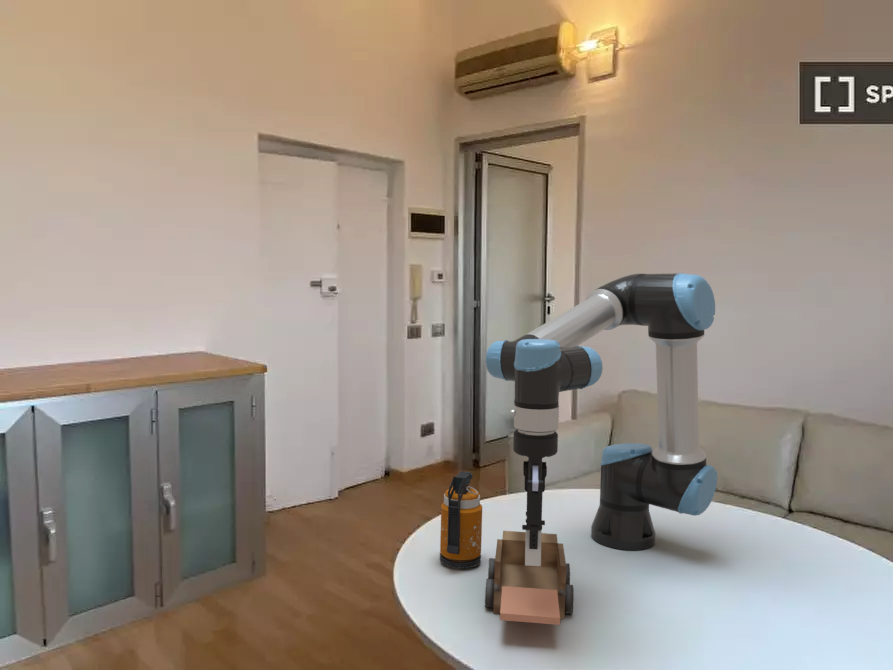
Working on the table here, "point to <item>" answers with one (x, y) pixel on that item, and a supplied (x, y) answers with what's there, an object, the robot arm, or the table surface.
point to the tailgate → (529, 605)
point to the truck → (529, 570)
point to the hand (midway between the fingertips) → (532, 563)
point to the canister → (461, 524)
